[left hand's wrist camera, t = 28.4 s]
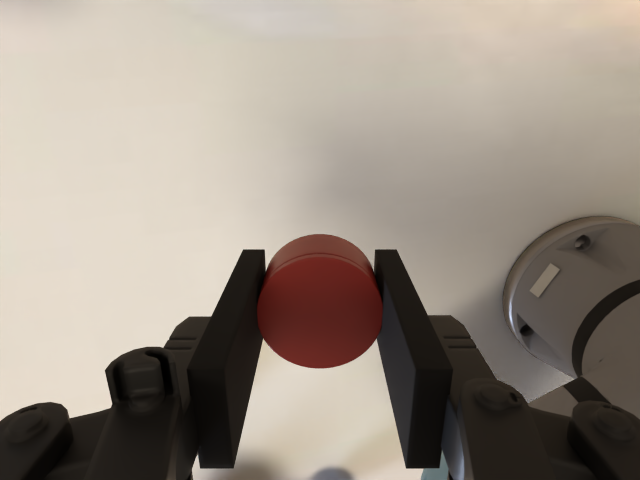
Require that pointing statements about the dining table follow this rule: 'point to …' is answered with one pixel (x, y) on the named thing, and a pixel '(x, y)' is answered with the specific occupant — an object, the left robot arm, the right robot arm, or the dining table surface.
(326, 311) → the cap
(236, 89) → the dining table surface
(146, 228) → the dining table surface
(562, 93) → the dining table surface
